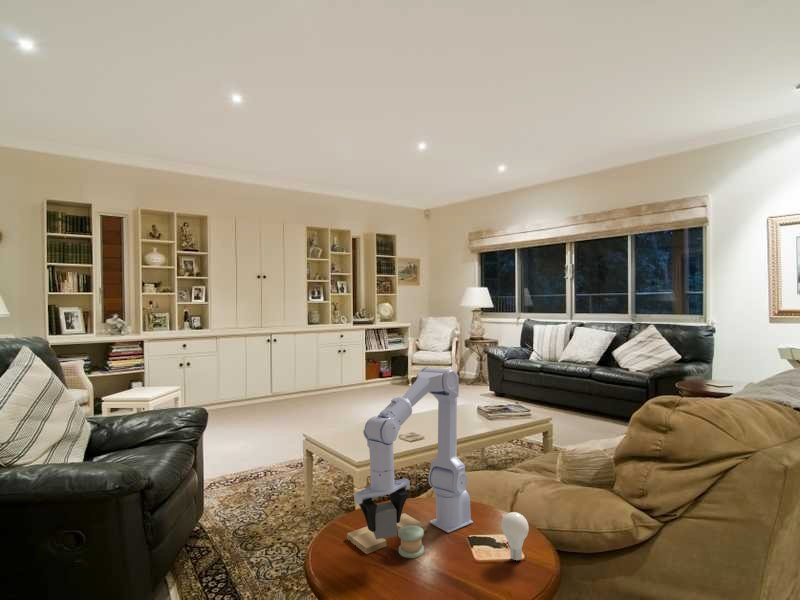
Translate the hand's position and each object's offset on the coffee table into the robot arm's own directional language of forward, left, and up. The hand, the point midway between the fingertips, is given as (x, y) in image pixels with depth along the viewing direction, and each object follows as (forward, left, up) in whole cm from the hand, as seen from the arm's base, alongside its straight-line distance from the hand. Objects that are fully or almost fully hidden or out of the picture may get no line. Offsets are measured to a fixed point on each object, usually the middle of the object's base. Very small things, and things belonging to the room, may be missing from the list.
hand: (384, 525), depth 110 cm
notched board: (-9, -12, -9) cm, 18 cm away
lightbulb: (-26, +18, -10) cm, 33 cm away
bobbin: (-9, -1, -9) cm, 13 cm away
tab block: (0, 0, -2) cm, 2 cm away
